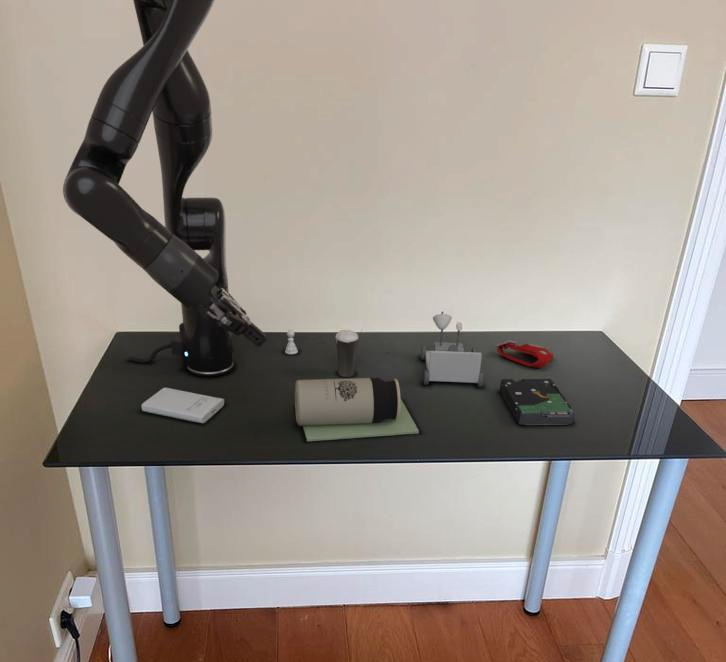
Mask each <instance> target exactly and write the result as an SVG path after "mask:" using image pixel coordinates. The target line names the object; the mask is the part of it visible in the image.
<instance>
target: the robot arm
mask: <svg viewBox="0 0 726 662" xmlns="http://www.w3.org/2000/svg"><path fill="white" fill-rule="evenodd" d="M132 1H133V5H134V10H135V14H136V19H137V23H138V27H139V32H140V35H141V36H140V37H141V40H142V41H141V42H142V47H141V48H139V49H138V50H137V51H136V52H135V53H134V54H133V55H132V56H130V57H129V58H128V59H126V60H125V61H124V62H123V63H122V64H121V65H119V67H117V68H116V69H115V70H114V71H113V72H112V74H111V75H110V76H109V78H108V79H107V80H106V81H105V83H104V85H103V87H102V88H101V91H100V93H99V95H98V98H97V100H96V103H95V105H94V108H93V110H92V113H91V116H90V118H89V120H88V124H87V127H86V130H85V134H84V138H83V140H82V143H81V144H80V146H79V148H78V150H77V152H76V154H75V156H74V158H73V161H72V163H71V165H70V167H69V169H68V171H67V173H66V176H65V178H64V182H63V185H62V194H63V198H64V202H65V203H66V205H67V207H68V208H69V209H70V210H71V211H72V212H73V213H74V214H76V215H78V216H79V217H81V219H83V220H84V221H86V222H87V223H89V224H90V225H91V226H92V227H93V228H95V229H96V230H97V231H99V232H100V233H101V234H103V235H104V236H105V237H106V238H108V239H110V241H112V242H113V243H114V244H115V245H116V247H117V248H118V249H119V250H120V251H121V252H122V253H123V254H124V255H125V256H127V257H128V258H129V259H130V260H131V261H132V262H134V263H135V264H136V266H138V267H140V269H142V270H143V271H144V272H145V273H146V274H147V275H148V276H149V277H150V278H151V279H152V280H153V281H154V282H155V283H156V284H158V286H160V287H161V288H162V289H164V290H165V291H166V292H167V293H168V294H170V295H171V297H173V298H174V299H176V300H177V301H178V302H179V303H180V307H181V315H182V322H181V323H180V324H179V325H178V330H179V335H177V336H176V337H175V338H173V339H171V340H170V343H168V344H167V343H166V344H164V345H161V346H159V347H156V348H155V349H154V350H153V351H152V353H151V355H150V356H149V357H148V358H137V357H133V356H128V361H129V362H133V363H134V362H135V363H139V364H148V363H151V362H152V361H153V360H154V359H155V357H156V356H157V355H158V353H159V352H162V351H163V350H167V349H171V354H172V355H173V356H179V357H181V360H182V369H183V370H184V371H187V372H188V373H190V374H192V375H194V376H197V377H203V378H205V377H206V378H211V377H219V376H224V375H226V374H228V373H230V372H231V371H233V370H234V368H235V365H234V356H233V354H235V348H234V346H233V341H232V334H233V335H235V336H238V337H240V336H241V335H243V336H244V337H245V338H246V339H247V340H248V341H249V342H251V343H252V344H253V345H254V346H255V347H256V348H260V347H262V346H263V345H264V343H265V342H267V341H268V340H267V335H266V333H265V332H264V331H263V330H261V329H260V328H259V327H258V326H256V324H254V322H252V321H251V318H250V317H249V316H248V313H247V311H246V310H245V309H244V308H242V306H241V305H240V304H239V303H238V302H237V300H235V298H234V297H233V296H232V295H231V294H230V292H229V279H228V269H227V228H226V227H227V226H226V225H227V224H226V212H225V208H224V207H225V206H224V205H223V202H222V201H221V199H219V198H217V197H183V195H184V192H185V189H186V186H187V183H188V181H189V179H190V178H191V176H192V174H193V173H194V171H195V170H196V168H197V167H198V166H199V164H200V163H201V161H202V160H203V158H204V157H205V155H206V154H207V152H208V150H209V148H210V146H211V143H212V139H213V118H212V104H211V97H210V93H209V91H208V88H207V86H206V83H205V80H204V79H203V77H202V75H201V73H200V71H199V68H198V67H197V65H196V63H195V61H194V59H193V57H192V55H191V54H190V52H189V50H188V49H190V46H191V44H192V43H193V41H194V40H195V38H196V36H197V35H198V32H200V30H201V28H202V26H203V24H204V23H205V21H206V19H207V17H208V16H209V14H210V12H211V10H212V7H213V5H214V3H215V0H132ZM151 115H152V120H153V121H152V122H153V129H154V134H155V140H156V146H157V151H158V157H159V164H160V173H161V187H162V203H163V217H164V225H163V223H161V222H160V221H159V220H158V219H157V218H156V217H154V216H153V215H151V214H150V213H149V212H147V211H146V210H145V209H144V208H143V207H141V205H140V204H139V203H138V202H137V201H135V199H134V198H133V197H132V196H131V195H130V194H129V193H128V192H127V191H126V190H125V189H124V188H123V187H122V186H121V185H120V182H121V179H122V177H123V175H124V172H125V169H126V166H127V165H128V163H129V162H130V161H131V159H132V158H133V156H134V155H135V153H136V151H137V149H138V147H139V145H140V142H141V139H142V138H143V135H144V133H145V130H146V127H147V126H148V122H149V120H150V118H151ZM196 251H208V253H207V254H206V255H205V256H204V257H202V256H201V255H200V254H199V253H198V252H196Z"/></svg>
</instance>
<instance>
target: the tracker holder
mask: <svg viewBox="0 0 726 662" xmlns="http://www.w3.org/2000/svg"><path fill="white" fill-rule="evenodd" d="M516 344H517V342H516V341H514V340H510V339H509V340H504V341H501V342H499V343H497V344H495V345H494V347H495V348H496V349H497V352H498V353H499V354H500V355H501V356H503V357H504V358H506V359H508V360H510V361H513V362H514V363H517V364H519V365H520V364H521V365H523V366H525V367H530V368H536V369H542V368H544V367H545V366H547V365H548V363H550V361H551V360H552V359H554V354H553V353H552V352H549V350H548V349H547V348H546V347H543V346H541V345H539V344H534V343H524V344H522V345H516ZM508 348H509V349H510V350H513V351H515V352H519V353H523V354H525V355H530V356H533V357H535V358H536V359H537V360H536V361H534V362H533V363H532V362H529V361H525V360H523V359H520V358H518V357H514V356H512V355H511V354H509V353H507V352H506V351H505V350H507V349H508Z"/></svg>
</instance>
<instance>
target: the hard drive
mask: <svg viewBox="0 0 726 662" xmlns="http://www.w3.org/2000/svg"><path fill="white" fill-rule="evenodd" d="M224 406H225V398H221V397H216V396H215V397H214V396H210V395H205V394H200V393H195V392H190V391H186V390H181V389H175V388H170V387H163V388H161V389H160V390H159V391H157V392H156V393H154V394H153V395H152V396H150V397H148V399H146V400H145V401H144V402H143V403H141V411H142V412H144V413H150V414H153V415H154V414H155V415H160V416H164V417H170V418H174V419H179V420H184V421H188V422H193V423H199V424H205V423H207V422H208V421H209V419H211V418H212V417H213V416H214V415H215V414H217V413H218V412H219V411H220V410H221V409H222V408H223V407H224Z"/></svg>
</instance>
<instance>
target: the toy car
mask: <svg viewBox="0 0 726 662" xmlns="http://www.w3.org/2000/svg"><path fill="white" fill-rule="evenodd" d="M440 312H441V313H439V314H435V315H433V316H432V320H433V322H434V324H435V326H436V327H437V328H438V329H439V330H440V339H439V341H434V343H433V349H434V350H427V346H426V345H422V346H421V349H420V360H421V361H425V366H426V369H424V370H423V385H424V386H429V384H430V382H446V383H447V382H450V383H473V384H474V383H475V384H476V386H477V387H478V388H483V386H484V377H485V376H484V372H483V371H481V366H482V357H483V354H482V352H478V349H477V347H472V348H471V351H465V349H464V344H463V343H462V342H460V341H459V340H460V332H461V331H463V323H462V322H461V321H460V322H459V321H457V322H456V325H455V328H456V331H457V335H456V342H445V341H443V334H444V330H446V329H447V328H448V326H449V325H450V323H451V321H452V319H453V317H452V315H450V314H446V313H444V311H440Z"/></svg>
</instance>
